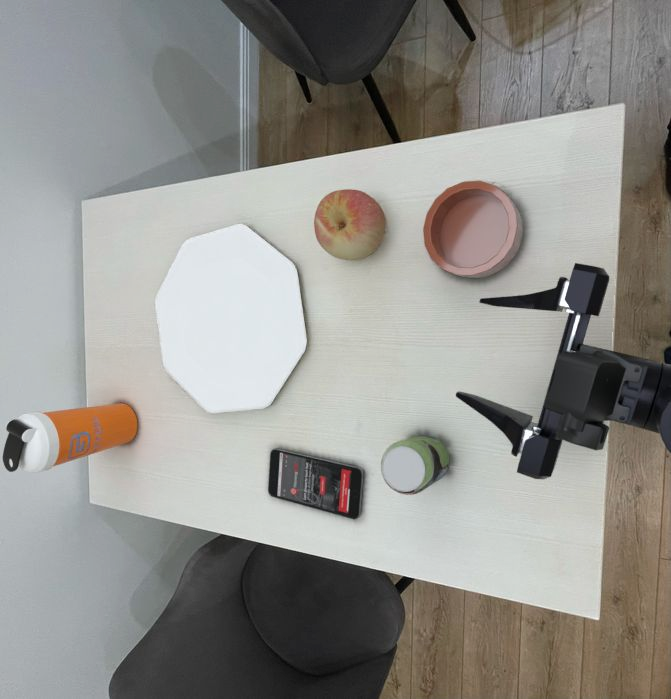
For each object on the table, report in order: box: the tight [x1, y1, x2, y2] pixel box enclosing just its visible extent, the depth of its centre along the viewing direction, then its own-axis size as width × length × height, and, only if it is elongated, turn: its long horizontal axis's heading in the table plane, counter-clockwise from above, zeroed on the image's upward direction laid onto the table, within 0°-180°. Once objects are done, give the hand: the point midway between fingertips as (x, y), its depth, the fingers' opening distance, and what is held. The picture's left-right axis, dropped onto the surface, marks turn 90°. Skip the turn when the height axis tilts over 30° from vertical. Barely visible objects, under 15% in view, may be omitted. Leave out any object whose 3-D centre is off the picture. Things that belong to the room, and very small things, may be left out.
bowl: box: [422, 180, 524, 279], centre depth 63 cm, size 11×11×4 cm
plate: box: [154, 223, 309, 414], centre depth 82 cm, size 28×28×2 cm
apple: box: [313, 188, 387, 262], centre depth 68 cm, size 9×9×8 cm
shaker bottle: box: [2, 402, 139, 474], centre depth 86 cm, size 9×9×20 cm
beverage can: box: [380, 434, 450, 496], centre depth 64 cm, size 6×7×12 cm
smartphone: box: [267, 447, 365, 520], centre depth 77 cm, size 7×1×15 cm
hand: (468, 347), depth 51 cm, fingers open, 9 cm apart
